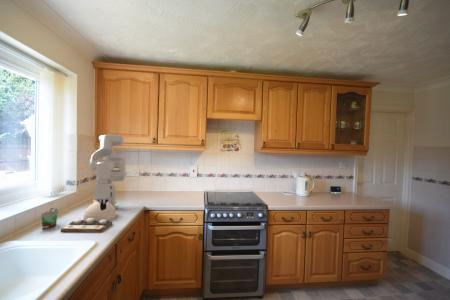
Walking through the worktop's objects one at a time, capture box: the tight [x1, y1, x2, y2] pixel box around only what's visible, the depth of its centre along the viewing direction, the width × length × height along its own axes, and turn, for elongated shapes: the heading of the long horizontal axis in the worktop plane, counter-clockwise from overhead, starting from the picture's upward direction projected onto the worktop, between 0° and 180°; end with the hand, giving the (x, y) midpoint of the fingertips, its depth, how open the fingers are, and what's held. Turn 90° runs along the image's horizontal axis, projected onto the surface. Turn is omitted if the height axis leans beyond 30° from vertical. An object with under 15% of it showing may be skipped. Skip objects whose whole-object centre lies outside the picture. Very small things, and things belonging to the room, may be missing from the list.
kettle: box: [83, 198, 117, 221], centre depth 154 cm, size 20×21×18 cm
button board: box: [60, 219, 113, 233], centre depth 135 cm, size 13×24×3 cm, turn 91°
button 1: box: [73, 218, 82, 223], centre depth 137 cm, size 4×4×2 cm
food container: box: [40, 207, 59, 230], centre depth 137 cm, size 12×6×10 cm, turn 17°
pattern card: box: [61, 224, 104, 229], centre depth 131 cm, size 5×22×1 cm, turn 91°
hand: (103, 209), depth 138 cm, fingers closed
